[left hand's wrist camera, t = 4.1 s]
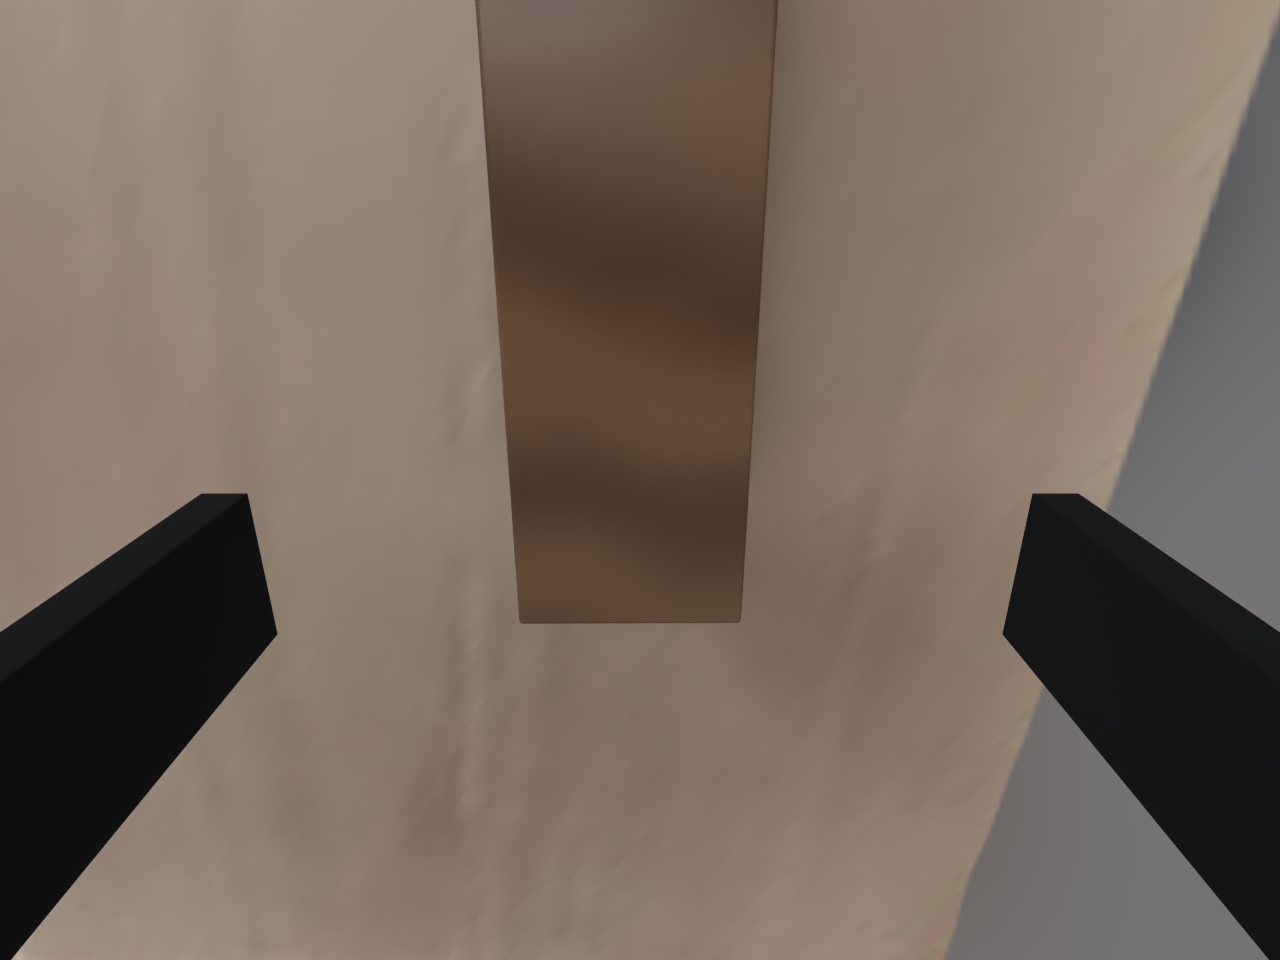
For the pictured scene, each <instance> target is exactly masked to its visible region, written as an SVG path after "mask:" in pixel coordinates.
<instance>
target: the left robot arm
mask: <svg viewBox="0 0 1280 960" xmlns="http://www.w3.org/2000/svg"><path fill="white" fill-rule="evenodd" d="M276 635H277V630H276V625H275V620H274V616H273V611H272V606H271V602H270V597H269V592H268V588H267V583H266V578H265V574H264V569H263V564H262V560H261V555H260V550H259V546H258V541H257V536H256V532H255V527H254V522H253V518H252V513H251V508H250V504H249V499H248V494H200V495H199V496H197V497H196V498H194V499H193V500H192V501H190V502H189V503H187V504H186V505H184V506H183V507H181V508H180V509H179V510H177V511H176V512H174V513H173V514H171V515H170V516H168V517H167V518H165V519H164V520H163V521H161V522H160V523H158V524H157V525H155V526H154V527H152V528H151V529H150V530H148V531H147V532H145V533H144V534H142V535H141V536H139V537H138V538H136V539H135V540H134V541H132V542H131V543H129V544H128V545H126V546H125V547H123V548H122V549H120V550H119V551H118V552H116V553H115V554H113V555H112V556H110V557H109V558H107V559H106V560H105V561H103V562H102V563H100V564H99V565H97V566H96V567H94V568H93V569H91V570H90V571H89V572H87V573H86V574H84V575H83V576H81V577H80V578H78V579H77V580H75V581H74V582H73V583H71V584H70V585H68V586H67V587H65V588H64V589H62V590H61V591H60V592H58V593H57V594H55V595H54V596H52V597H51V598H49V599H48V600H46V601H45V602H44V603H42V604H41V605H39V606H38V607H36V608H35V609H33V610H32V611H31V612H29V613H28V614H26V615H25V616H23V617H22V618H20V619H19V620H17V621H16V622H15V623H13V624H12V625H10V626H9V627H7V628H6V629H4V630H3V631H1V632H0V960H11V959H12V958H13V957H14V955H15V954H16V953H17V952H18V951H19V949H20V948H21V947H22V946H23V944H24V943H25V942H26V941H27V940H28V938H29V937H30V936H31V935H32V933H33V932H34V931H35V930H36V929H37V927H38V926H39V925H40V924H41V922H42V921H43V920H44V919H45V918H46V916H47V915H48V914H49V913H50V911H51V910H52V909H53V908H54V907H55V905H56V904H57V903H58V902H59V900H60V899H61V898H62V897H63V896H64V894H65V893H66V892H67V891H68V889H69V888H70V887H71V886H72V885H73V883H74V882H75V881H76V880H77V878H78V877H79V876H80V875H81V874H82V872H83V871H84V870H85V869H86V867H87V866H88V865H89V864H90V863H91V861H92V860H93V859H94V858H95V856H96V855H97V854H98V853H99V852H100V850H101V849H102V848H103V847H104V845H105V844H106V843H107V842H108V841H109V839H110V838H111V837H112V836H113V834H114V833H115V832H116V831H117V830H118V828H119V827H120V826H121V825H122V823H123V822H124V821H125V820H126V819H127V817H128V816H129V815H130V814H131V812H132V811H133V810H134V809H135V808H136V806H137V805H138V804H139V803H140V802H141V800H142V799H143V798H144V797H145V795H146V794H147V793H148V792H149V791H150V789H151V788H152V787H153V786H154V784H155V783H156V782H157V781H158V780H159V778H160V777H161V776H162V775H163V773H164V772H165V771H166V770H167V769H168V767H169V766H170V765H171V764H172V762H173V761H174V760H175V759H176V758H177V756H178V755H179V754H180V753H181V751H182V750H183V749H184V748H185V747H186V745H187V744H188V743H189V742H190V740H191V739H192V738H193V737H194V736H195V734H196V733H197V732H198V731H199V729H200V728H201V727H202V726H203V725H204V723H205V722H206V721H207V720H208V718H209V717H210V716H211V715H212V714H213V712H214V711H215V710H216V709H217V707H218V706H219V705H220V704H221V703H222V701H223V700H224V699H225V698H226V696H227V695H228V694H229V693H230V692H231V690H232V689H233V688H234V687H235V685H236V684H237V683H238V682H239V681H240V679H241V678H242V677H243V676H244V674H245V673H246V672H247V671H248V670H249V668H250V667H251V666H252V665H253V663H254V662H255V661H256V660H257V659H258V657H259V656H260V655H261V654H262V653H263V651H264V650H265V649H266V648H267V646H268V645H269V644H270V643H271V642H272V640H273V639H274V638H275V637H276ZM1003 635H1004V637H1005V638H1006V639H1007V640H1008V642H1009V643H1010V644H1011V645H1012V646H1013V648H1014V649H1015V650H1016V651H1017V653H1018V654H1019V655H1020V656H1021V657H1022V659H1023V660H1024V661H1025V662H1026V664H1027V665H1028V666H1029V667H1030V668H1031V670H1032V671H1033V672H1034V673H1035V674H1036V676H1037V677H1038V678H1039V679H1040V681H1041V682H1042V683H1043V684H1044V685H1045V687H1046V688H1047V689H1048V690H1049V692H1050V693H1051V694H1052V695H1053V696H1054V698H1055V699H1056V700H1057V701H1058V703H1059V704H1060V705H1061V706H1062V707H1063V709H1064V710H1065V711H1066V712H1067V714H1068V715H1069V716H1070V717H1071V718H1072V720H1073V721H1074V722H1075V723H1076V725H1077V726H1078V727H1079V728H1080V729H1081V731H1082V732H1083V733H1084V734H1085V736H1086V737H1087V738H1088V739H1089V740H1090V742H1091V743H1092V744H1093V745H1094V747H1095V748H1096V749H1097V750H1098V751H1099V753H1100V754H1101V755H1102V756H1103V758H1104V759H1105V760H1106V761H1107V762H1108V764H1109V765H1110V766H1111V767H1112V769H1113V770H1114V771H1115V772H1116V773H1117V775H1118V776H1119V777H1120V778H1121V780H1122V781H1123V782H1124V783H1125V784H1126V786H1127V787H1128V788H1129V789H1130V791H1131V792H1132V793H1133V794H1134V795H1135V797H1136V798H1137V799H1138V800H1139V801H1140V803H1141V804H1142V805H1143V806H1144V808H1145V809H1146V810H1147V811H1148V812H1149V814H1150V815H1151V816H1152V817H1153V819H1154V820H1155V821H1156V822H1157V823H1158V825H1159V826H1160V827H1161V828H1162V830H1163V831H1164V832H1165V833H1166V834H1167V836H1168V837H1169V838H1170V839H1171V841H1172V842H1173V843H1174V844H1175V845H1176V847H1177V848H1178V849H1179V850H1180V852H1181V853H1182V854H1183V855H1184V856H1185V858H1186V859H1187V860H1188V861H1189V862H1190V864H1191V865H1192V866H1193V867H1194V869H1195V870H1196V871H1197V872H1198V874H1199V875H1200V876H1201V877H1202V878H1203V880H1204V881H1205V882H1206V883H1207V884H1208V886H1209V887H1210V888H1211V889H1212V891H1213V892H1214V893H1215V894H1216V896H1217V897H1218V898H1219V899H1220V900H1221V902H1222V903H1223V904H1224V905H1225V907H1226V908H1227V909H1228V910H1229V911H1230V913H1231V914H1232V915H1233V916H1234V917H1235V919H1236V920H1237V921H1238V922H1239V923H1240V925H1241V926H1242V927H1243V928H1244V930H1245V931H1246V932H1247V933H1248V935H1249V936H1250V937H1251V938H1252V939H1253V941H1254V942H1255V943H1256V944H1257V946H1258V947H1259V948H1260V949H1261V950H1262V952H1263V953H1264V954H1265V955H1266V957H1267V958H1268V959H1269V960H1280V632H1279V631H1277V630H1276V629H1274V628H1273V627H1271V626H1270V625H1268V624H1267V623H1265V622H1264V621H1263V620H1261V619H1260V618H1258V617H1257V616H1255V615H1254V614H1252V613H1251V612H1249V611H1248V610H1247V609H1245V608H1244V607H1242V606H1241V605H1239V604H1238V603H1236V602H1235V601H1234V600H1232V599H1231V598H1229V597H1228V596H1226V595H1225V594H1223V593H1222V592H1220V591H1219V590H1218V589H1216V588H1215V587H1213V586H1212V585H1210V584H1209V583H1207V582H1206V581H1204V580H1203V579H1202V578H1200V577H1199V576H1197V575H1196V574H1194V573H1193V572H1191V571H1190V570H1188V569H1187V568H1186V567H1184V566H1183V565H1181V564H1180V563H1178V562H1177V561H1175V560H1174V559H1173V558H1171V557H1170V556H1168V555H1167V554H1165V553H1164V552H1162V551H1161V550H1160V549H1158V548H1157V547H1155V546H1154V545H1152V544H1151V543H1149V542H1148V541H1146V540H1145V539H1144V538H1142V537H1141V536H1139V535H1138V534H1136V533H1135V532H1133V531H1132V530H1130V529H1129V528H1128V527H1126V526H1125V525H1123V524H1122V523H1120V522H1119V521H1117V520H1116V519H1115V518H1113V517H1112V516H1110V515H1109V514H1107V513H1106V512H1104V511H1103V510H1101V509H1100V508H1099V507H1097V506H1096V505H1094V504H1093V503H1091V502H1090V501H1088V500H1087V499H1086V498H1084V497H1083V496H1081V495H1080V494H1032V499H1031V504H1030V508H1029V513H1028V518H1027V522H1026V527H1025V532H1024V536H1023V541H1022V546H1021V550H1020V555H1019V560H1018V564H1017V569H1016V574H1015V578H1014V583H1013V588H1012V592H1011V597H1010V602H1009V606H1008V611H1007V616H1006V620H1005V625H1004V630H1003Z"/></svg>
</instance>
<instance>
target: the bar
mask: <svg viewBox="0 0 1280 960" xmlns="http://www.w3.org/2000/svg"><path fill="white" fill-rule="evenodd" d="M475 2H476V16H477V30H478V44H479V58H480V72H481V86H482V100H483V114H484V128H485V142H486V156H487V171H488V185H489V199H490V213H491V227H492V241H493V255H494V269H495V283H496V297H497V311H498V325H499V339H500V353H501V367H502V381H503V395H504V409H505V424H506V438H507V452H508V466H509V480H510V494H511V508H512V522H513V536H514V550H515V564H516V578H517V592H518V606H519V620H520V622H521V623H738V622H740V620H741V610H742V593H743V576H744V560H745V543H746V526H747V509H748V493H749V476H750V459H751V443H752V426H753V409H754V393H755V376H756V359H757V343H758V326H759V309H760V293H761V276H762V259H763V243H764V226H765V209H766V192H767V176H768V159H769V142H770V126H771V109H772V92H773V76H774V59H775V42H776V26H777V9H778V0H475Z"/></svg>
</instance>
